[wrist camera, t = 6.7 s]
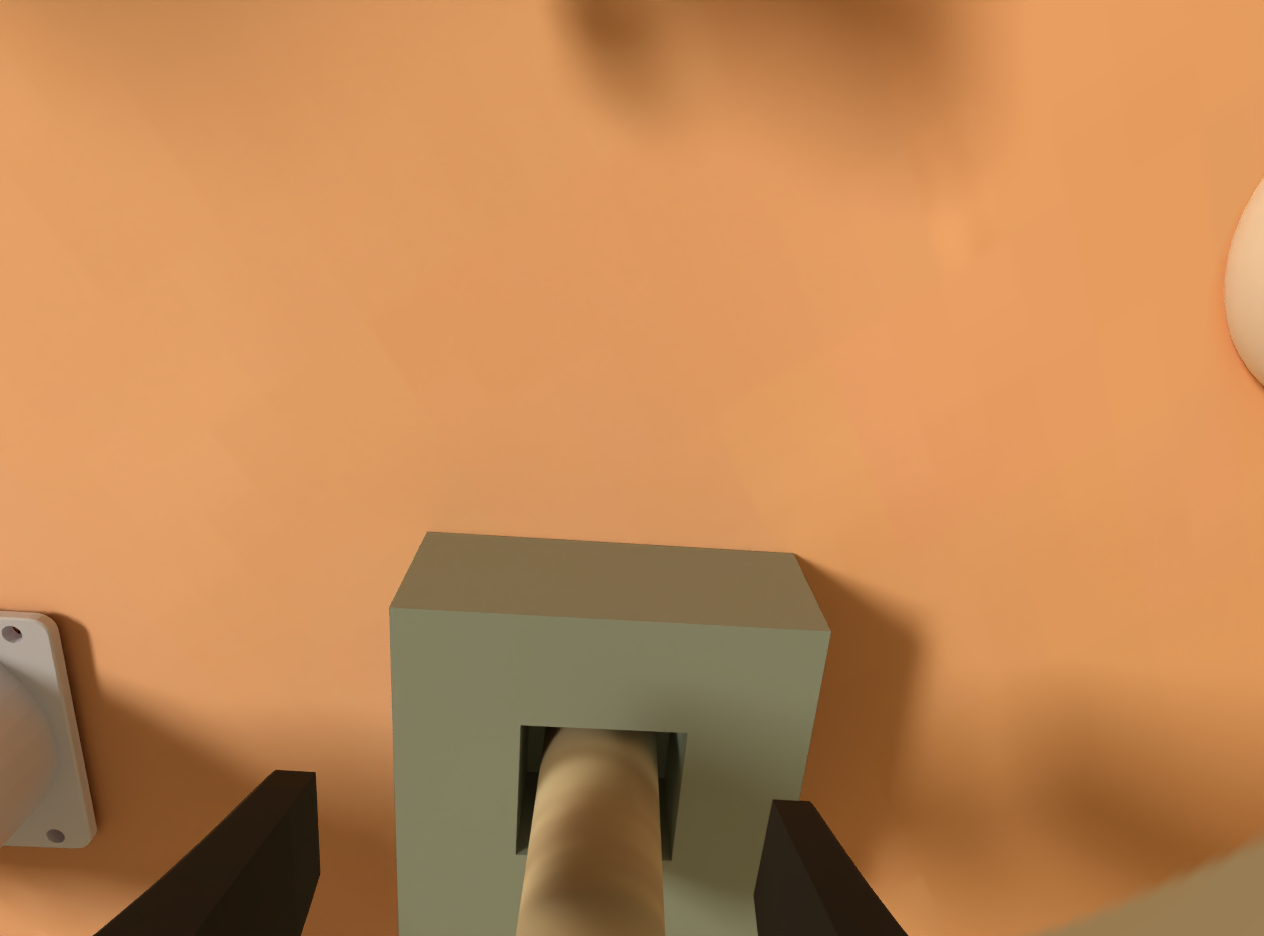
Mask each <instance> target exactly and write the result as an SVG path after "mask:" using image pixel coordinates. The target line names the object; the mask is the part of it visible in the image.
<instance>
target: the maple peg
mask: <svg viewBox="0 0 1264 936" xmlns="http://www.w3.org/2000/svg"><path fill="white" fill-rule="evenodd" d="M516 936H665V917H664V895H663V873H662V851H661V829H660V808H659V786H658V764H657V742H656V732H654V731H633V730H612V729H590V728H569V727H548V726H546V729H545V736H544V743H543V749H542V756H541V763H540V770H539V777H538V784H537V791H536V798H535V805H534V812H533V819H532V826H531V833H530V840H529V847H528V854H527V861H526V868H525V875H524V882H523V889H522V896H521V903H520V910H519V917H518V924H517V931H516Z"/></svg>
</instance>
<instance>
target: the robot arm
mask: <svg viewBox="0 0 1264 936" xmlns="http://www.w3.org/2000/svg"><path fill="white" fill-rule="evenodd" d="M12 626H13V627H16V628H17V629H18V630H20V632H21V633H22V634H18V633H17V632H16V631H14V629H13V627H12ZM60 831H61V832H60ZM96 834H97V826H96V821H95V816H94V810H93V805H92V800H91V795H90V790H89V785H88V779H87V774H86V769H85V764H84V759H83V753H82V748H81V743H80V738H79V733H78V728H77V722H76V717H75V712H74V707H73V702H72V696H71V691H70V686H69V681H68V676H67V671H66V665H65V660H64V655H63V650H62V645H61V639H60V634H59V629H58V627H57V625H56V623H55V622H54V621H53V620H52V619H51V618H50V617H48V616H46V615H44V614H41V613H34V612H15V611H0V848H1V847H2V846H24V847H50V848H83V847H85V846H87V845H88V844H89V843H90V842H91V840H92V839H93V838H94V836H95V835H96ZM319 876H320V855H319V834H318V812H317V791H316V772H302V771H285V770H275V771H274V772H273V773H271V774H270V775H269V776H268V777H267V778H266V779H265V780H264V781H263V782H262V783H261V784H259V785H258V786H257V787H256V788H255V789H254V790H253V791H252V792H251V793H250V794H249V795H248V796H247V797H246V798H245V799H244V800H243V801H242V802H241V803H240V804H239V805H238V806H237V807H236V808H235V809H234V810H233V811H232V812H231V813H230V814H229V815H228V816H227V817H226V818H225V819H224V820H223V821H222V822H221V823H220V824H219V825H218V826H216V827H215V828H214V829H213V830H212V831H211V832H210V833H209V834H208V835H207V836H206V837H205V838H204V839H203V840H202V841H201V842H200V843H199V844H197V845H196V846H195V847H194V848H193V849H192V850H191V851H190V852H189V853H188V854H187V855H185V856H184V857H183V858H182V859H181V860H180V861H179V862H178V863H177V864H176V865H175V866H174V867H172V868H171V869H170V870H169V871H168V872H167V873H166V874H165V875H164V876H163V877H162V878H160V879H159V880H158V881H157V882H156V883H155V884H154V885H152V886H151V887H150V888H149V889H148V890H147V891H145V892H144V893H143V894H142V895H141V896H140V897H138V898H137V899H136V900H135V901H134V902H132V903H131V904H130V905H129V906H128V907H127V908H125V909H124V910H123V911H122V912H121V913H120V914H118V915H117V916H116V917H115V918H114V919H112V920H111V921H110V922H109V923H108V924H107V925H105V926H104V927H103V928H102V929H101V930H99V931H98V932H97V933H96V934H94V935H93V936H301V933H302V930H303V927H304V924H305V921H306V918H307V915H308V911H309V908H310V905H311V902H312V899H313V895H314V892H315V889H316V886H317V882H318V879H319ZM753 897H754V905H755V914H756V923H757V932H758V936H908V935H907V933H906V932H905V931H904V930H903V928H902V927H901V926H900V925H899V923H898V922H897V921H896V919H895V918H894V917H893V916H892V914H891V913H890V912H889V910H888V909H887V908H886V906H885V905H884V904H883V902H882V901H881V900H880V899H879V897H878V896H877V895H876V893H875V892H874V891H873V889H872V888H871V887H870V885H869V884H868V883H867V881H866V880H865V878H864V877H863V876H862V874H861V873H860V872H859V870H858V869H857V867H856V866H855V865H854V863H853V862H852V860H851V859H850V857H849V856H848V855H847V853H846V852H845V850H844V849H843V847H842V846H841V845H840V843H839V842H838V840H837V839H836V837H835V836H834V834H833V833H832V832H831V830H830V829H829V827H828V826H827V824H826V823H825V821H824V820H823V818H822V817H821V815H820V814H819V813H818V811H817V810H816V808H815V807H814V806H813V804H812V803H811V802H810V801H794V800H777V799H773V800H772V805H771V810H770V815H769V820H768V825H767V830H766V835H765V840H764V845H763V850H762V855H761V860H760V865H759V870H758V875H757V880H756V885H755V890H754V895H753Z"/></svg>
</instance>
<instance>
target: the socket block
mask: <svg viewBox="0 0 1264 936" xmlns="http://www.w3.org/2000/svg"><path fill="white" fill-rule="evenodd" d="M389 616H390V651H391V685H392V720H393V754H394V789H395V824H396V858H397V893H398V927H399V936H516V931H517V924H518V917H519V910H520V903H521V896H522V889H523V882H524V875H525V868H526V861H527V854H528V847H529V840H530V833H531V826H532V819H533V812H534V805H535V798H536V791H537V784H538V777H539V770H540V763H541V756H542V749H543V743H544V736H545V729H546V726H548V727H569V728H590V729H612V730H633V731H654V732H656V742H657V764H658V786H659V808H660V829H661V851H662V873H663V895H664V917H665V936H758V932H757V923H756V914H755V905H754V897H753V895H754V890H755V885H756V880H757V875H758V870H759V865H760V860H761V855H762V850H763V845H764V840H765V835H766V830H767V825H768V820H769V815H770V810H771V805H772V800H773V799H777V800H794V801H799V798H800V793H801V788H802V783H803V777H804V772H805V767H806V761H807V756H808V751H809V746H810V740H811V735H812V730H813V724H814V719H815V714H816V709H817V703H818V698H819V693H820V688H821V682H822V677H823V672H824V666H825V661H826V656H827V651H828V645H829V640H830V635H831V630H830V628H829V626H828V624H827V622H826V620H825V618H824V616H823V614H822V612H821V610H820V608H819V605H818V603H817V601H816V599H815V597H814V595H813V593H812V591H811V589H810V587H809V585H808V583H807V581H806V579H805V576H804V574H803V572H802V570H801V568H800V566H799V564H798V562H797V560H796V558H795V556H794V554H793V553H776V552H760V551H743V550H726V549H709V548H692V547H675V546H658V545H642V544H625V543H608V542H591V541H574V540H557V539H540V538H524V537H507V536H490V535H473V534H456V533H439V532H427V533H426V535H425V537H424V539H423V541H422V543H421V545H420V547H419V549H418V551H417V553H416V555H415V557H414V559H413V561H412V563H411V565H410V567H409V569H408V571H407V573H406V575H405V577H404V579H403V581H402V583H401V585H400V587H399V589H398V591H397V593H396V595H395V597H394V599H393V601H392V603H391V605H390V607H389Z"/></svg>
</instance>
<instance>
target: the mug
mask: <svg viewBox="0 0 1264 936" xmlns="http://www.w3.org/2000/svg"><path fill="white" fill-rule="evenodd" d="M1224 307H1225V317H1226V321H1227V325H1228V329H1229V333H1230V337H1231V339H1232V341H1233V343H1234V346H1235V348H1236V350H1237V352H1238V354H1239V356H1240V357H1241V359H1242V361H1243V362H1244V364H1245V365H1246V367H1247V368H1248V370H1249V371H1250V372H1251V374H1252V375H1253V376H1254V377H1255V378H1256V379H1257V380H1258V381H1259V382H1260V383H1261V384H1262V385H1263V386H1264V177H1263V179H1262V180H1261V182H1260V183H1259V185H1258V186H1257V187H1256V189H1255V191H1254V193H1253V194H1252V196H1251V198H1250V200H1249V202H1248V204H1247V205H1246V207H1245V209H1244V211H1243V213H1242V216H1241V218H1240V221H1239V223H1238V225H1237V228H1236V230H1235V233H1234V236H1233V239H1232V243H1231V246H1230V250H1229V253H1228V257H1227V263H1226V270H1225V276H1224Z"/></svg>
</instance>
